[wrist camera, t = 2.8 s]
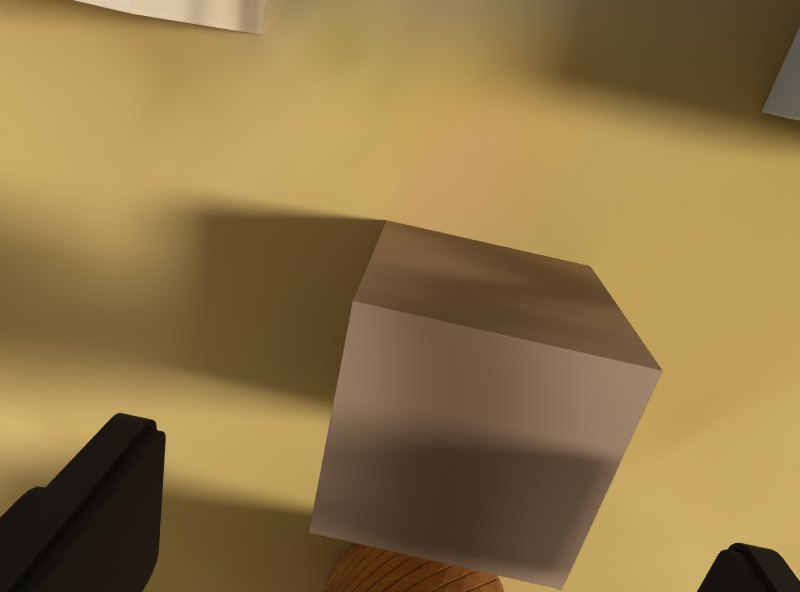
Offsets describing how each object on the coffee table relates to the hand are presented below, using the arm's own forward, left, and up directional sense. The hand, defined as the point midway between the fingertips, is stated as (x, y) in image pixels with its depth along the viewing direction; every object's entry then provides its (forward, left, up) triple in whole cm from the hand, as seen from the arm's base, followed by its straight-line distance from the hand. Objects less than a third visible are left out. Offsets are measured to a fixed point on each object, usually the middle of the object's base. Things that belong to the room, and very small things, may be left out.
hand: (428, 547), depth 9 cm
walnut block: (-1, -1, -7) cm, 7 cm away
